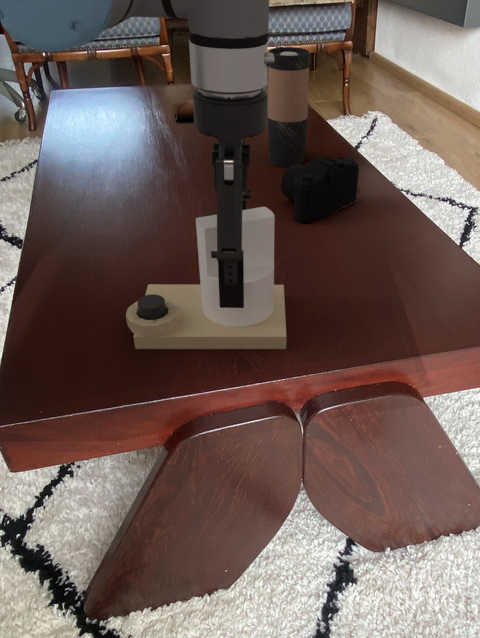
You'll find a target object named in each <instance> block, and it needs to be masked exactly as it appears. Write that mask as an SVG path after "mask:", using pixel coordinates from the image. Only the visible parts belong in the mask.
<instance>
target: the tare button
mask: <svg viewBox="0 0 480 638" xmlns="http://www.w3.org/2000/svg"><path fill="white" fill-rule="evenodd" d="M137 301H138V302H137ZM137 301H136V302H137V304H138V310H139V316H140V317H141V318H142V319H145V320H156V319H160V318H163V317H164V316H165V315H166V306H165V299H164V298H163V297H162V296H160V295H155V294H151V295H146V296H145V295H143V296H141V297H139V298H138V300H137Z"/></svg>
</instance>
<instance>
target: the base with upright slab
mask: <svg viewBox="0 0 480 638" xmlns="http://www.w3.org/2000/svg"><path fill="white" fill-rule="evenodd" d="M275 218H276V217H275V214H274V212H273V211H272V210H271V209H269V208H268V207H267V206H258V207H254V208H248V209H247V208H246V210H242V250H243V258H244V308H220V301H219V276H218V261H217V258H211V251H217V214H213V215H205V216H200V217H195V229H196V241H197V242H196V243H197V255H198V257H197V258H198V270H199V271H198V272H199V280H200V283H199V285H201V298H202V310H203V312H204V315H205V316H206V317H207V318H208V319H210V320H211V321H213V322H215V323H218V324H221V325H224V326H231V327H244V326H250V325H254V324H257V323H260V322H262V321H264V320H265V319H267V318H268V317H269V316H270V315H271V314H272V312H273V309H274V285H275V222H276V221H275Z"/></svg>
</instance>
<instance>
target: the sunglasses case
mask: <svg viewBox="0 0 480 638" xmlns="http://www.w3.org/2000/svg"><path fill="white" fill-rule="evenodd" d="M175 111H176V117H177V120H178V121H180V120H189V119H194V109H193V99H190V100H189V99H188V100H184V101H183V102H180V103H178V104H177V105H176V109H175V110H174V112H175Z"/></svg>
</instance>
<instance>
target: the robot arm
mask: <svg viewBox="0 0 480 638" xmlns="http://www.w3.org/2000/svg"><path fill="white" fill-rule="evenodd" d="M131 18H162V19H163V18H164V19H172V20H173V19H174V20H179V19H186V20H187V24H188V29H189V30H188V31H189V33H188V34H189V38H188V48H189V64H190V65H189V67H190V80H191V81H190V82H191V84H192V86H193V87H194V88H195V90H194V92H193V93H192V100H193V109H194V118H193V124H194V127H195V129H196V131H197V132H199V134H201V135H204V136H205V137H212V138H214V139H216V140H217V141H218V142H217V143H216V142H214V143H213V151H211V164H212V169H213V176H214V177H213V188H214V192H215V194H216V215H217V251H211V258H217V261H218V276H219V301H220V308H244V258H243V250H242V210H247V200H252V189H248V172H249V171H250V168H251V144H250V143H245V139H246V138H255V137H257V136H259V135H261V134H263V133H265V131H266V130H267V128H268V93H266V91H265V90H264V89H265V88H266V87H267V86H268V66H267V65H268V64H272V63H273V62H274V55H273V53H271V52H270V53H268V52H267V51H268V49H269V45H268V42H269V22H270V21H269V19H270V0H0V23H1V25H2V28H4V29H5V31H6V32H7V33H8V34H9V35H11V36H12V37H13V38H14V39H16V40H17V41H18V42H19V43H22V44H24V45H25V46H26V47H29V48H31V49H34V50H38V51H41V52H52V53H53V52H61V51H65V50H69V49H72V48H78V47H82V46H85V45H87V44H89V43H90V42H93V41H94V40H95V39H96V38H97V37H98V36H99V35H100V34H102V33H103V32H105V31H106V30H108V29H111V28H114V27H116V26H118V25H119V24H122V23H123V22H125V21H127V20H129V19H131Z"/></svg>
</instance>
